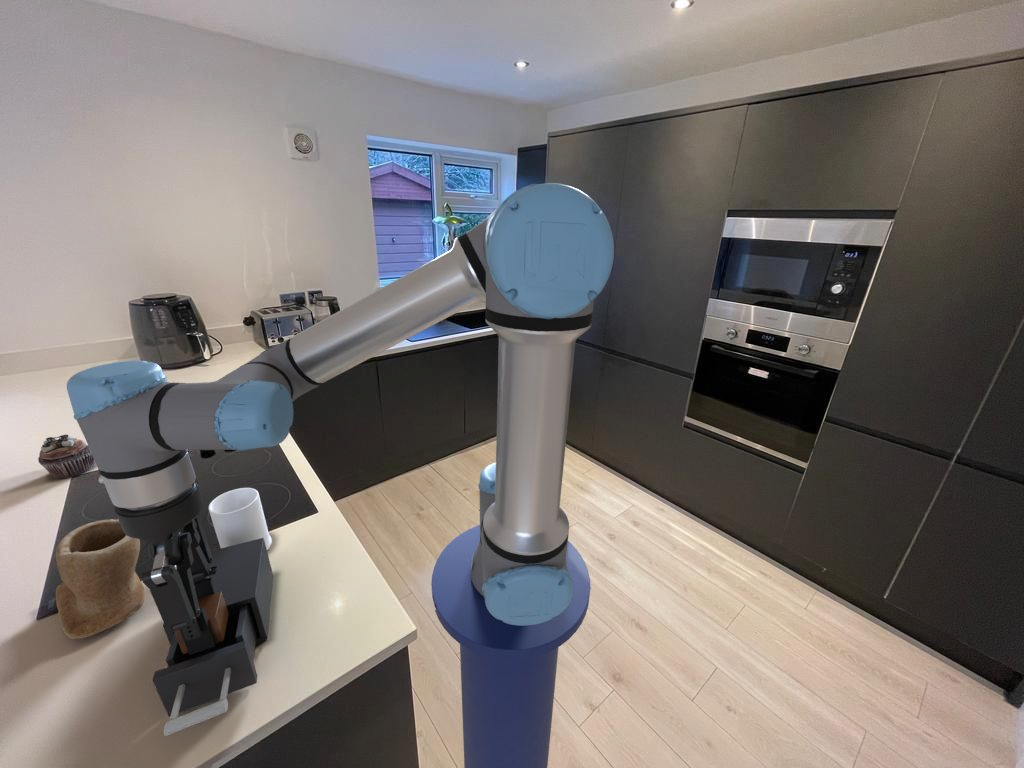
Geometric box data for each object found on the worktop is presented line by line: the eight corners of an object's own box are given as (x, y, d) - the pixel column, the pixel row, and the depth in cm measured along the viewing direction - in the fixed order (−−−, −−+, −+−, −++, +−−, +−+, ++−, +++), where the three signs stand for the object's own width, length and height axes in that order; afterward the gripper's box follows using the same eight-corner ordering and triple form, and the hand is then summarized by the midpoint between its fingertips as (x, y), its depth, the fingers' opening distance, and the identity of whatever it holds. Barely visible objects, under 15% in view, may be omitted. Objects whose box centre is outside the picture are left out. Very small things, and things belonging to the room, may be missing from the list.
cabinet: (267, 639, 63) (255, 596, 60) (180, 669, 58) (162, 625, 55) (273, 575, 74) (263, 537, 71) (201, 597, 70) (187, 557, 67)
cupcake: (102, 469, 105) (88, 435, 101) (48, 485, 98) (31, 450, 94) (96, 456, 111) (83, 424, 107) (44, 471, 104) (28, 437, 100)
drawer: (252, 726, 51) (239, 689, 49) (154, 766, 47) (135, 729, 45) (264, 611, 67) (255, 578, 64) (191, 634, 62) (178, 600, 60)
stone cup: (167, 604, 68) (139, 535, 63) (66, 656, 60) (25, 581, 54) (148, 559, 77) (123, 495, 72) (59, 598, 69) (22, 529, 64)
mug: (245, 524, 87) (233, 477, 83) (286, 522, 88) (275, 476, 83) (212, 566, 76) (195, 515, 72) (259, 564, 77) (245, 514, 72)
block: (229, 613, 58) (221, 591, 56) (223, 640, 54) (215, 617, 53) (191, 625, 56) (182, 602, 55) (182, 654, 52) (173, 630, 51)
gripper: (141, 461, 53) (189, 592, 61) (77, 553, 38) (151, 708, 46) (210, 450, 56) (246, 576, 64) (176, 530, 41) (228, 680, 49)
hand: (206, 631), depth 55 cm, fingers closed on block, 4 cm apart
